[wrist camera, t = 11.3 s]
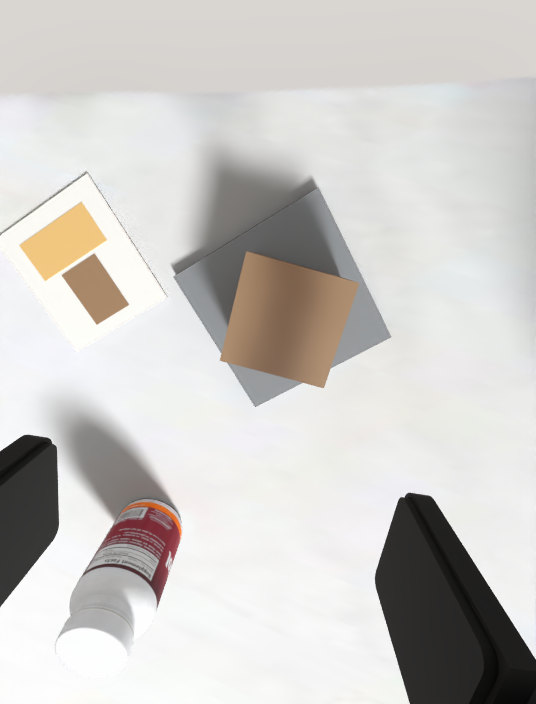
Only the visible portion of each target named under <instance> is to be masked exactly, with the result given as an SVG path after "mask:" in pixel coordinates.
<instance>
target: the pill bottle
mask: <svg viewBox="0 0 536 704" xmlns="http://www.w3.org/2000/svg"><path fill="white" fill-rule="evenodd" d="M181 535H182V523H181V520H180V518H179V516H178V514H177V513H176V511H175V510H174V509H173V508H171V507H170V506H169V505H167V504H165V503H163V502H160V501H157V500H152V499H143V500H138V501H135V502H132V503H130V504H129V505H128V506H126V507H125V508H124V509H123V510H122V512H121V513H120V515H119V516H118V518H117V519H116V521H115V522H114V524H113V526H112V527H111V529H110V531H109V532H108V534H107V536H106V537H105V539H104V541H103V542H102V544H101V545H100V547H99V549H98V550H97V552H96V554H95V555H94V557H93V558H92V560H91V562H90V563H89V565H88V567H87V568H86V570H85V572H84V573H83V575H82V576H81V578H80V580H79V581H78V583H77V585H76V587H75V588H74V590H73V592H72V595H71V599H70V615H71V616H70V617H69V618H68V620H67V621H66V623H65V625H64V627H63V628H62V630H61V632H60V634H59V636H58V638H57V640H56V644H55V652H56V655H57V657H58V659H59V660H60V662H61V663H62V664H63V665H64V666H65V667H67V668H68V669H69V670H71V671H72V672H74V673H76V674H79V675H81V676H84V677H89V678H107V677H110V676H113V675H115V674H117V673H118V672H119V671H121V670H122V669H123V667H124V666H125V664H126V662H127V659H128V656H129V654H130V651H131V649H132V647H133V644H134V639H136V638H138V637H139V636H140V635H142V634H143V633H144V632H145V631H146V630H147V628H148V627H149V626H150V624H151V622H152V620H153V618H154V615H155V612H156V610H157V607H158V604H159V601H160V598H161V595H162V592H163V589H164V586H165V584H166V581H167V578H168V575H169V572H170V569H171V566H172V563H173V560H174V557H175V554H176V551H177V548H178V545H179V543H180V540H181Z"/></svg>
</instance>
